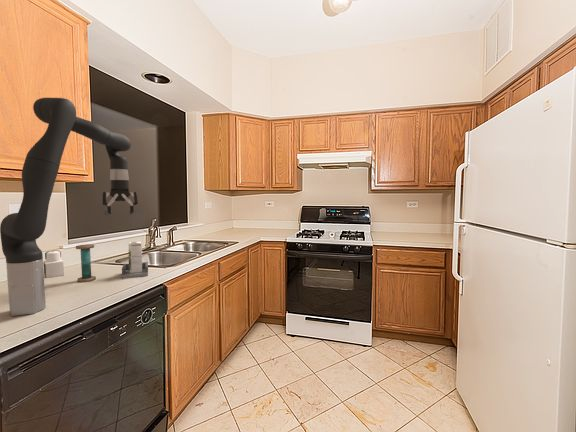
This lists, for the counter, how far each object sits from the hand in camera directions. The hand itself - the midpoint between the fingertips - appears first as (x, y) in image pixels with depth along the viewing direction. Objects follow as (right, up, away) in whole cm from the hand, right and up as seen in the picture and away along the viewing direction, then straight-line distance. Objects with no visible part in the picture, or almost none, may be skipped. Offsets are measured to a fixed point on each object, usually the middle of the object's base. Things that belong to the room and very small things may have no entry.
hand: (121, 214), depth 139 cm
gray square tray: (+4, -30, +6) cm, 31 cm away
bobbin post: (-14, -30, -3) cm, 34 cm away
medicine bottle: (-35, -30, +5) cm, 47 cm away
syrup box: (+4, -28, +6) cm, 29 cm away
